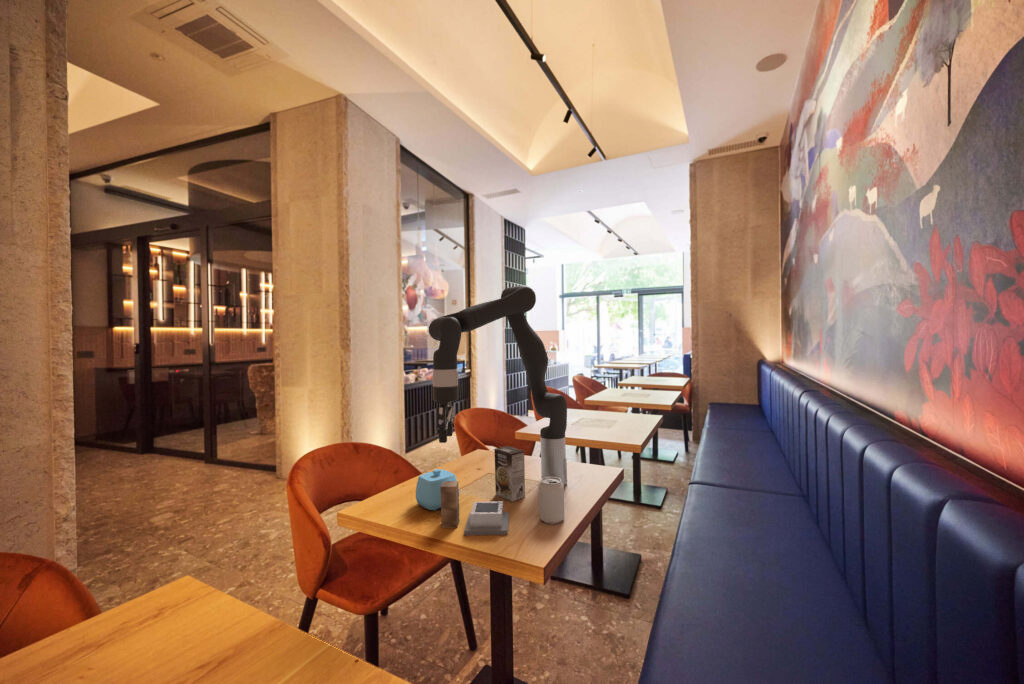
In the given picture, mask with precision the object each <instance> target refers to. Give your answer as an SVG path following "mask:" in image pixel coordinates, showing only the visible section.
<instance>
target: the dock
mask: <svg viewBox="0 0 1024 684" xmlns="http://www.w3.org/2000/svg"><path fill="white" fill-rule="evenodd" d="M467 517H468V518H467V520H466V524H465V528H464V531H463V532H464V533H463V534H464V536H500V535H501V536H505V535H506V536H507V535H508V534H509V533H508V532H509V519H510V513H509V511H504V501H503V500H497V501H496V500H495V501H491V500H490V501H489V500H487V501H473V503H472V506H471V509H470V512H469V514H468V516H467Z"/></svg>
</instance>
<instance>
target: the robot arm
mask: <svg viewBox="0 0 1024 684" xmlns="http://www.w3.org/2000/svg"><path fill="white" fill-rule="evenodd" d="M536 301H537V295H536V292H535V290H533V288H531V287H529V286H527V285H516V286H510V287H506V288H504V289H503V290H502V292H501V294H500V298H498V299H494V300H489V301H485V302H481V303H477V304H475V305H472V306H469V307H466V308H464V309H462V310H459V311H457V312H454V313H449V314H447V315H442V316H440V317H436V318H434V319H433V320H432V321H431V322H430V324H429V325H428V334H429V336H430V337H431V338H432V339H433V340H434V341H437V342H439V346H438V349H436V350H435V351H434V352H433V357H432V358H433V360H432V361H433V362H432V365H433V366H432V368H433V369H432V371H433V372H432V401H434V402H439V406H437V407H436V425H435V427H436V429H437V430H438V442H439V443H441V444H442V443H443V444H445V443H446V444H447V442H448V437H452V436H453V424H454V421H455V402H456V401H458V400H459V374H458V352H459V348H460V343H461V339H462V333H469V332H472V331H475V330H476V329H479V328H481V327H484V326H486V325H488V324H490V323H492V322H495V321H497V320H500V319H502V318H506V319H507V321H508V324H509V325H510V329H511V330H512V333H513V337H514V339H515V342H516V345H517V348H518V351H519V355H520V358H521V362H522V364H523V367H524V369H525V373H526V377H527V380H528V383H529V387H530V392H531V396H532V402H533V406H534V410H535V412H536V413H537V415H538V416H540V417H542V418H545V419H546V418H547V419H549V425H547V426H544V427H542V428H541V429H540V435H539V436H540V437H539V438H540V466H541V467H540V470H541V471H540V472H541V475H540V476H541V479H542V478H544V477H557V478H560V479H561V482H562V483H563V485H564V486H568V469H567V467H568V466H567V465H568V464H567V463H568V462H567V457H566V455H567V454H566V451H567V450H566V449H567V448H566V431H567V427H568V426H567V425H568V424H567V423H568V422H567V421H568V403H567V399H566V397H565V396H564V395H563V394H561V393H560V394H558V393H552V392H549V391H548V388H547V385H546V381H545V379H546V378H545V377H546V374H547V370H548V365H549V357H548V354H547V350H546V348H545V344H544V342H543V340H542V339H541V337H539V335H538V333H537V332H536V331H535V330H534V329H533V328H532V327H531V325H530V324H529V322H528V320H527V317H526V315H525V313H527V312H530V311H531V310H533V308H534V306H536V305H535V304H536Z"/></svg>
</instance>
